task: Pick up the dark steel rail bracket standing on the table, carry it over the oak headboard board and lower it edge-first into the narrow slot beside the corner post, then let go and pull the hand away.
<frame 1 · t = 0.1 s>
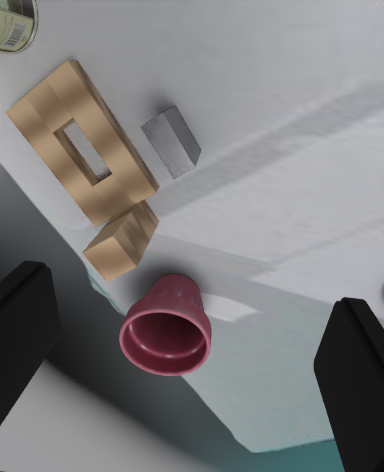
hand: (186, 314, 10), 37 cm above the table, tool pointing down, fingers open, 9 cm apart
coffee can: (0, 8, 39), on the table
headboard: (91, 149, 46), on the table
plant pot: (176, 292, 57), on the table
rail bracket: (180, 134, 43), on the table
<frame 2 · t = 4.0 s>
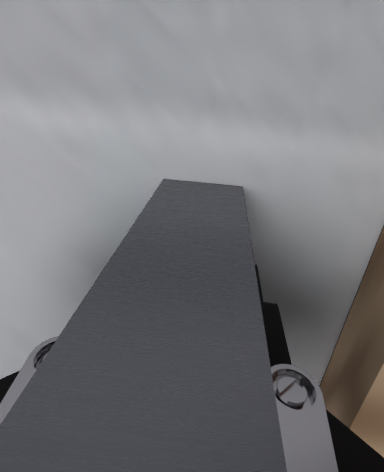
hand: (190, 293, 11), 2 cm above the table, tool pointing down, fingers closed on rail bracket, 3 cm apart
rail bracket: (195, 261, 13), on the table, touching gripper
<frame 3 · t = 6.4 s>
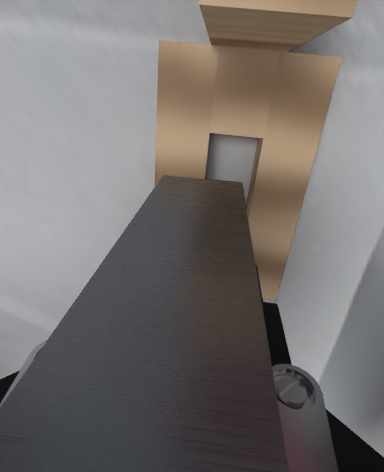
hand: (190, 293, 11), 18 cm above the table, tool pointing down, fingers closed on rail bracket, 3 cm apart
headboard: (227, 182, 27), on the table
rail bracket: (195, 257, 13), point 15 cm above the table, touching gripper
when the fingers open (4 cm above the table, at t = 8.8 s): rail bracket drops 2 cm, resting in headboard.
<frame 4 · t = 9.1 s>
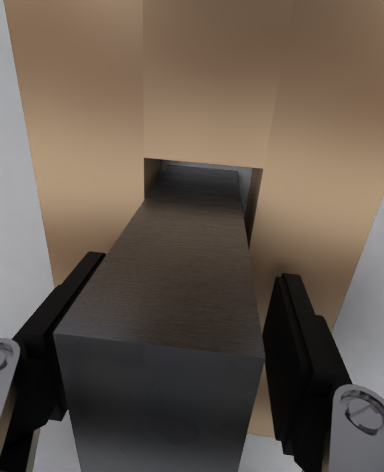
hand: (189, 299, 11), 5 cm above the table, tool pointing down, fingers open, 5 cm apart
headboard: (199, 240, 15), on the table
rail bracket: (196, 238, 15), resting in headboard
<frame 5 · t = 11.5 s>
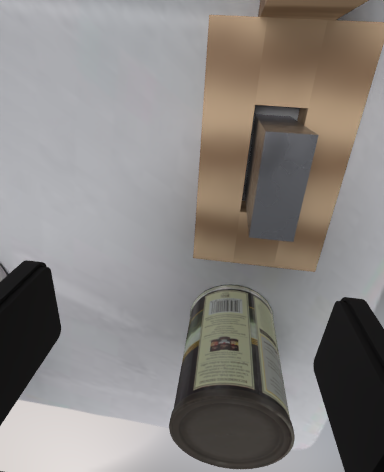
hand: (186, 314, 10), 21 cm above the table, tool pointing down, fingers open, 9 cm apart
coffee can: (231, 316, 37), on the table
headboard: (267, 156, 28), on the table
rail bracket: (265, 155, 28), resting in headboard
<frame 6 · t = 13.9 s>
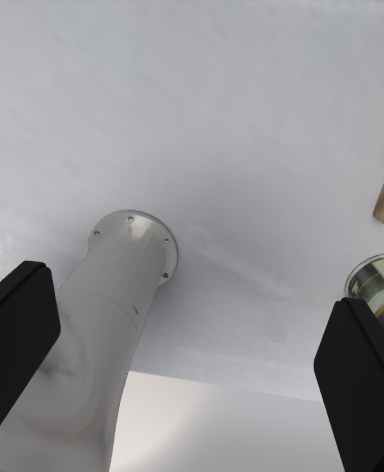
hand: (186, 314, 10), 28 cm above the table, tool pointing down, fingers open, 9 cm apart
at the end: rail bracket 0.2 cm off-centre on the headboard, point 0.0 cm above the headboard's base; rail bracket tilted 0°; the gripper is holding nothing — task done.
